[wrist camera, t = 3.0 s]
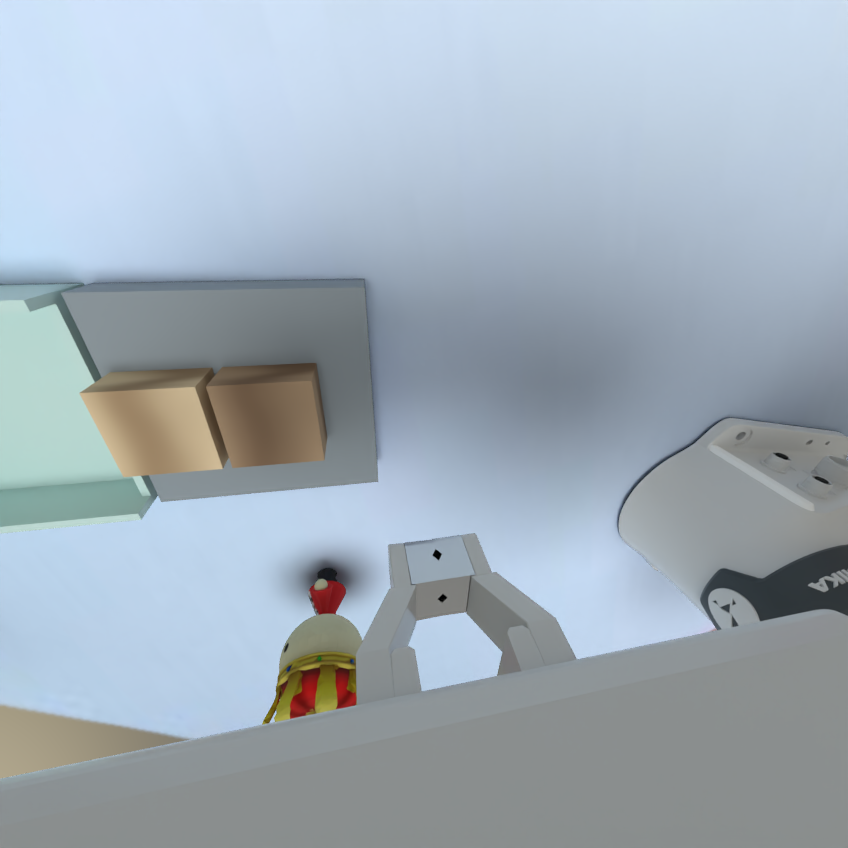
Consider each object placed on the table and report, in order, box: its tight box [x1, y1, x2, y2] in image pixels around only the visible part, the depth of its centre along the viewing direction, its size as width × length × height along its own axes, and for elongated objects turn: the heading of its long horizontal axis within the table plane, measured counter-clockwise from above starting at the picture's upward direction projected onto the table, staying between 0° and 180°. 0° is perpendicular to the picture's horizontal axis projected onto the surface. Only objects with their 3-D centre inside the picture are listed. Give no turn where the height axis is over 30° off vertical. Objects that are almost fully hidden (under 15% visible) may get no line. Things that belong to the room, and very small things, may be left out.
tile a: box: [79, 368, 229, 477], centre depth 20 cm, size 5×5×2 cm
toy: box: [262, 568, 362, 725], centre depth 27 cm, size 7×7×15 cm
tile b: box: [206, 363, 327, 468], centre depth 20 cm, size 5×5×2 cm
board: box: [61, 279, 378, 502], centre depth 22 cm, size 14×13×2 cm
